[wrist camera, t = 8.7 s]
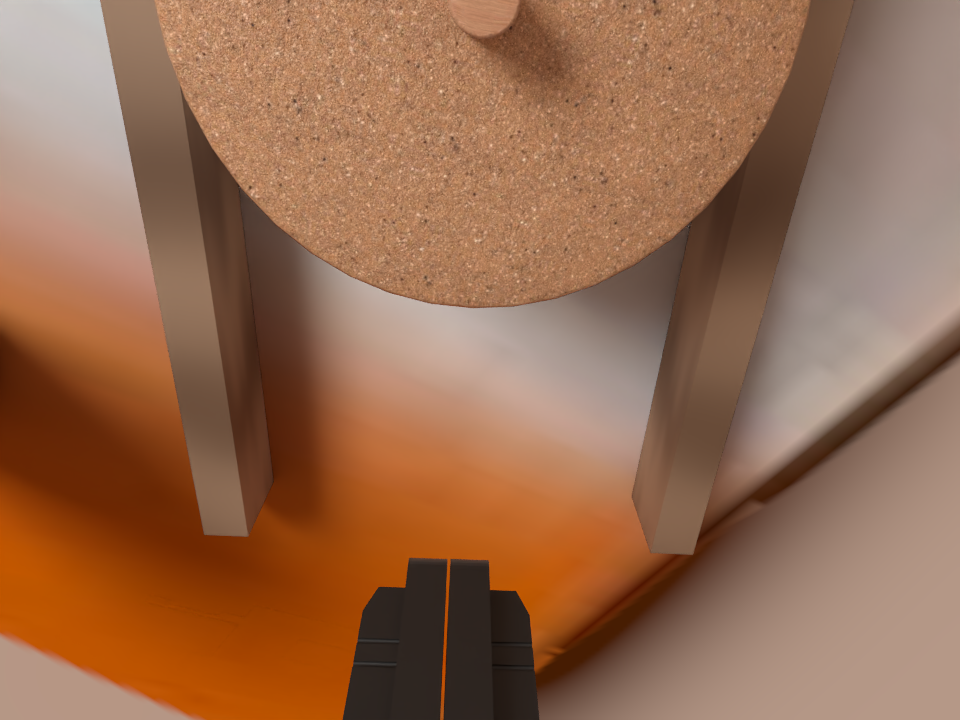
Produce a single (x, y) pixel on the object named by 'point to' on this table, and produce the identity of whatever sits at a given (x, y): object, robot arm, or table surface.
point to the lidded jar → (482, 128)
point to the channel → (230, 319)
